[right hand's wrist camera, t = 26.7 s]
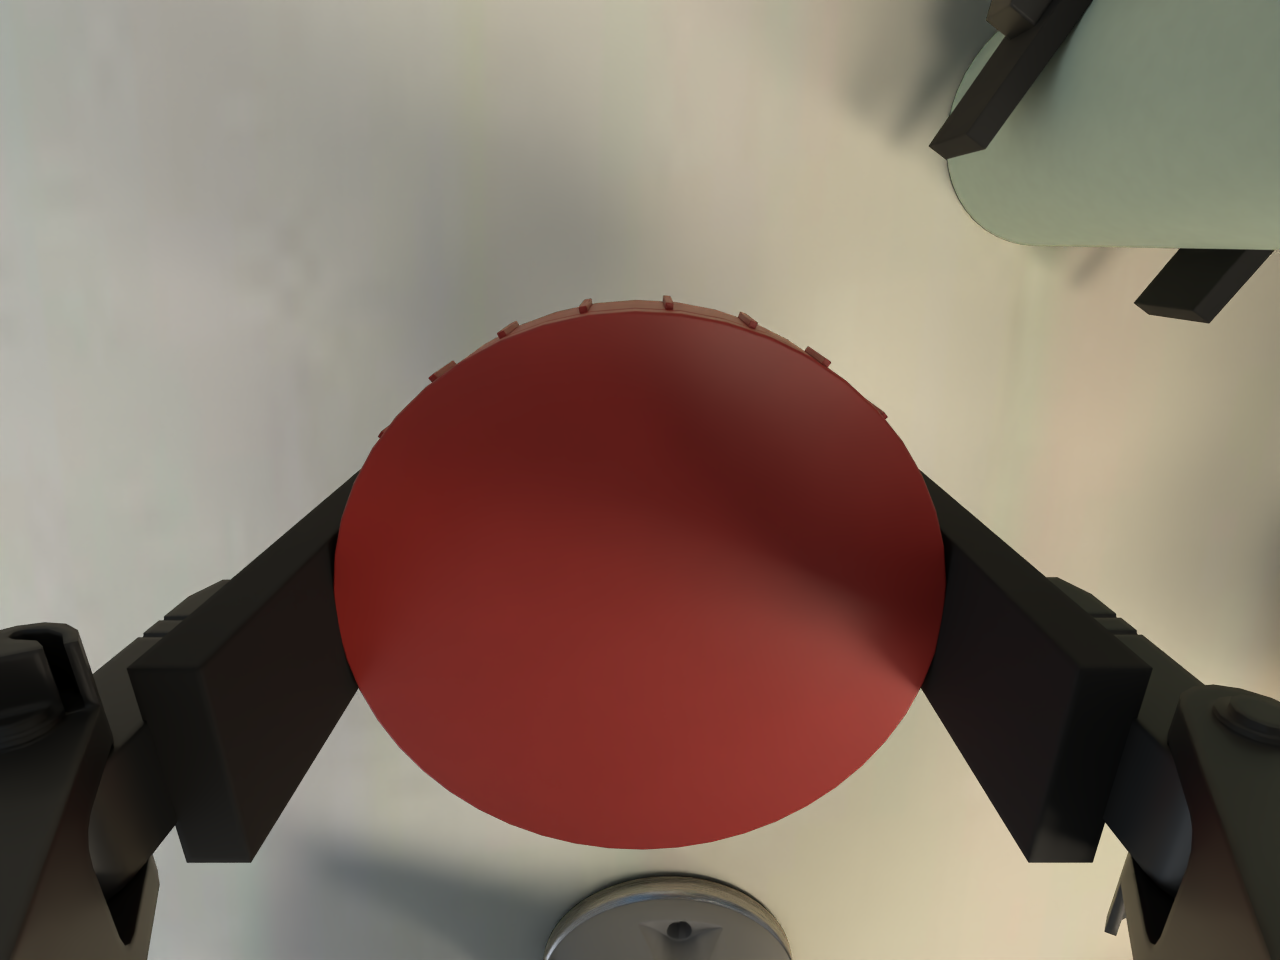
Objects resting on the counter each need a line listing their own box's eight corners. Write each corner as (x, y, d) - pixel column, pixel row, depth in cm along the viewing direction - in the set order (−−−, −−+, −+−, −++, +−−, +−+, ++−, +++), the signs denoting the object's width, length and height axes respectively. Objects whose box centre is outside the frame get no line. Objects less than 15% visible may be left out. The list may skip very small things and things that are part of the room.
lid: (252, 532, 11) (194, 576, 10) (694, 154, 9) (705, 140, 8) (601, 855, 14) (597, 928, 12) (1009, 611, 12) (1061, 665, 10)
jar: (923, 52, 25) (1553, -361, 8) (1160, -47, 24) (2487, -773, 7) (970, 278, 28) (1515, 341, 11) (1185, 197, 27) (2177, 121, 10)
